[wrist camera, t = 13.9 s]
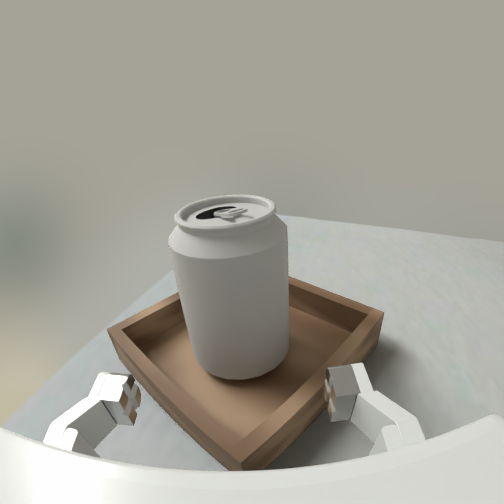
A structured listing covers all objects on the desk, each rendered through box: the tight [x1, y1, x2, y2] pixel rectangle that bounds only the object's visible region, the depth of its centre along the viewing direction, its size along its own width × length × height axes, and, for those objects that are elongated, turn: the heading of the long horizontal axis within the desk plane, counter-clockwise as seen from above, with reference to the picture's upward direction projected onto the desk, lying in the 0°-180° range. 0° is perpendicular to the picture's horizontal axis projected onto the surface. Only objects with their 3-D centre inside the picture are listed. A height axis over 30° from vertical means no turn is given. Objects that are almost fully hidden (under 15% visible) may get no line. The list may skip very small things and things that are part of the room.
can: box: [169, 195, 289, 380], centre depth 21 cm, size 8×8×12 cm
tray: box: [107, 276, 384, 471], centre depth 24 cm, size 16×16×4 cm
